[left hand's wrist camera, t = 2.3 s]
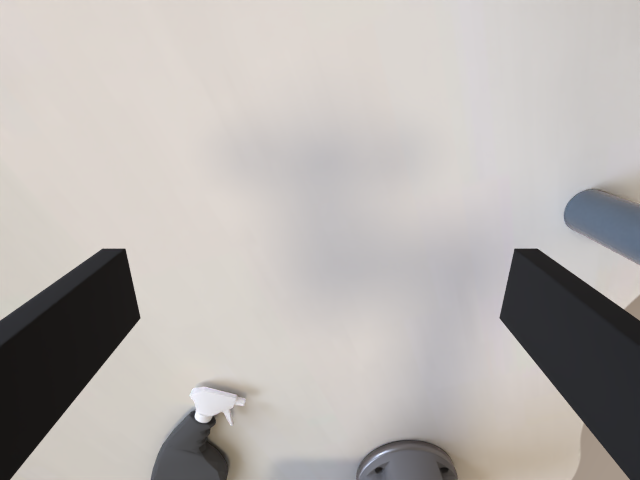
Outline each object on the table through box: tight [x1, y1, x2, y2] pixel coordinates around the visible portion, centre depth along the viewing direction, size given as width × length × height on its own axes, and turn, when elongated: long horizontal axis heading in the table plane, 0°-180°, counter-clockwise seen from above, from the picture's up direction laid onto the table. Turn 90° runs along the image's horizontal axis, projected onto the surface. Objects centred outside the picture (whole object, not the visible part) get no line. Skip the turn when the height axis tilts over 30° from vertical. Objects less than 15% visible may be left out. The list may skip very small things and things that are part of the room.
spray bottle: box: [151, 387, 246, 480], centre depth 53 cm, size 3×11×24 cm
